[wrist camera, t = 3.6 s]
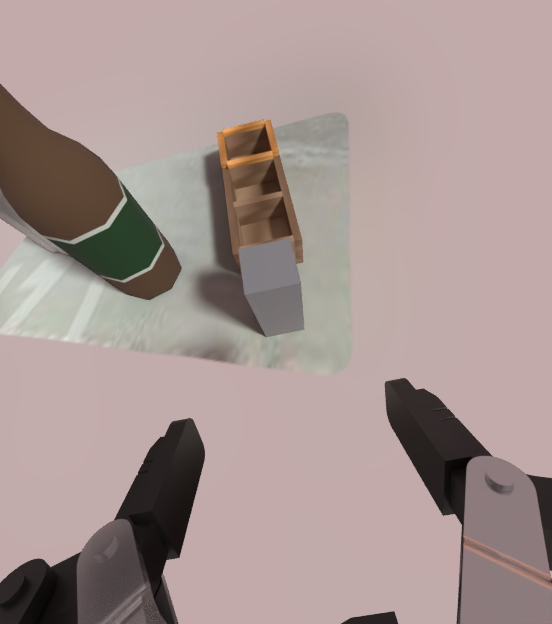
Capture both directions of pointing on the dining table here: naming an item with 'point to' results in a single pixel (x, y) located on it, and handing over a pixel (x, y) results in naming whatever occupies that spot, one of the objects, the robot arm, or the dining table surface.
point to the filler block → (273, 286)
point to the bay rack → (256, 189)
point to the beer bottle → (81, 205)
